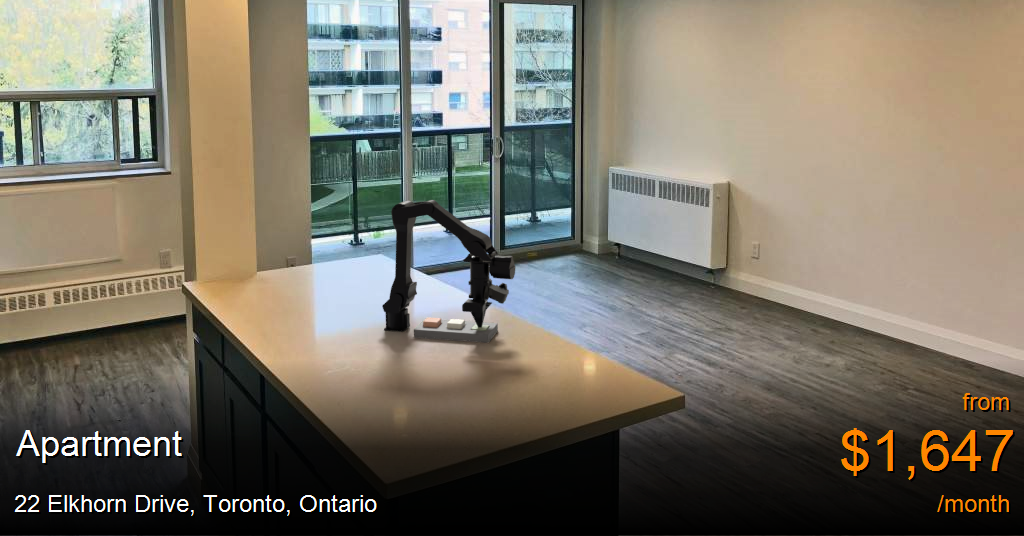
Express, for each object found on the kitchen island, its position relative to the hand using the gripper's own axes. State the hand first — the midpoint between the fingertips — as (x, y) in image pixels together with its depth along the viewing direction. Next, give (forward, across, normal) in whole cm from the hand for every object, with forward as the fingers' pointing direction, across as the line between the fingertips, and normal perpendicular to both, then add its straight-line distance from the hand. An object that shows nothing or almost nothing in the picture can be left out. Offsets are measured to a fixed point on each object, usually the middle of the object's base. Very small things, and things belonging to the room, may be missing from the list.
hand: (480, 327), depth 285 cm
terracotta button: (+1, 0, +15) cm, 15 cm away
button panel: (+3, 0, +8) cm, 8 cm away
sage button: (+3, 0, 0) cm, 3 cm away
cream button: (+1, 0, +7) cm, 8 cm away
